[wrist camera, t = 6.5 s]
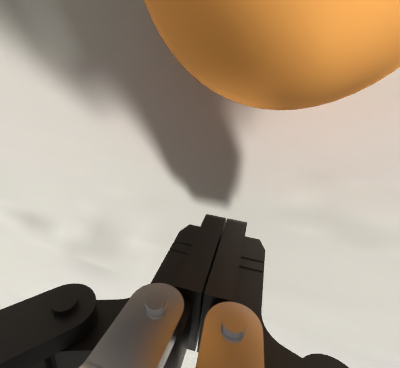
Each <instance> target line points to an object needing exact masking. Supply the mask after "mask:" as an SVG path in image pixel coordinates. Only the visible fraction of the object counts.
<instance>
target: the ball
mask: <svg viewBox="0 0 400 368" xmlns="http://www.w3.org/2000/svg"><path fill="white" fill-rule="evenodd" d="M144 2H145V4H146V7H147V9H148V12H149V14H150V16H151V19H152V21H153V23H154V25H155V27H156V29H157V30H158V32H159V34H160V36H161V38H162V40H163V41H164V42H165V44H166V45H167V47H168V48H169V50H170V51H171V53H172V54H173V55H174V57H175V58H176V59H177V60H178V61H179V62H180V63H181V65H182V66H183V67H184V68H185V69H186V70H187V71H188V72H189V73H190V74H191V75H192V76H194V77H195V78H196V79H197V80H198V81H199V82H200V83H202V84H203V85H205V86H206V87H208V88H209V89H211V90H212V91H214V92H215V93H217V94H219V95H221V96H223V97H225V98H227V99H229V100H232V101H235V102H237V103H240V104H243V105H246V106H251V107H256V108H261V109H271V110H296V109H302V108H309V107H315V106H318V105H322V104H326V103H330V102H333V101H336V100H339V99H341V98H344V97H346V96H349V95H352V94H354V93H356V92H358V91H360V90H362V89H364V88H366V87H368V86H370V85H372V84H374V83H376V82H377V81H379V80H381V79H382V78H384V77H385V76H387V75H389V74H390V73H392V72H393V71H395V70H396V69H398V68H399V67H400V0H144Z"/></svg>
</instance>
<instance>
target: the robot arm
mask: <svg viewBox="0 0 400 368" xmlns="http://www.w3.org/2000/svg"><path fill="white" fill-rule="evenodd" d="M246 226H247V222H242V221H237V220H233V219H227V221H226V218H223V217H218V216H213V215H208V214H206V216H205V218H204V220H203V222H202V225H201V227H199V226H194V225H188V226H187V227H185V228H184V229H182V230H181V231H180V232H179V234H178V235H177V237H176V239H175V241H174V243H173V244H172V246H171V248H170V251H168V253H167V255H166V257H165V259H164V260H163V262H162V264H161V266H160V268H159V269H158V271H157V273H156V275H155V277H154V278H153V280H152V282H151V284H148V285H145V286H143V287H141V288H139V289H138V290H137V291H136V292H135V293H134V294H133V295H132V296H131V297H130V298H127V299H119V300H96V296H95V293H94V292H93V290H92V289H91V288H89V287H88V286H85V285H83V284H67V285H62V286H60V287H57V288H54V289H52V290H49V291H47V292H44V293H42V294H39V295H37V296H34V297H32V298H29V299H26V300H24V301H21V302H19V303H16V304H14V305H11V306H9V307H6V308H4V309H1V310H0V368H181V365H182V362H183V359H184V356H185V352H186V349H190V350H193V351H195V349H196V345H197V342H198V349H197V352H199V353H198V358H197V364H196V368H348V367H347V366H346V365H345V364H343V363H342V362H340V361H339V360H337V359H335V358H333V357H330V356H328V355H324V354H310V355H307V356H305V357H304V358H301V357H299V356H298V355H296V354H295V353H293V352H291V351H290V350H288V349H286V348H285V347H283V346H282V345H280V344H279V343H278V342H277V341H276V340H275V339H274V338H273V337H272V336H271V335H270V334H269V332H268V331H267V330H266V328H265V326H264V323H263V321H262V316H261V307H262V291H263V276H264V274H263V273H264V260H265V249H264V247H263V245H262V243H261V241H260V240H259V239H254V238H250V237H245V232H246ZM198 338H199V341H198Z"/></svg>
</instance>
